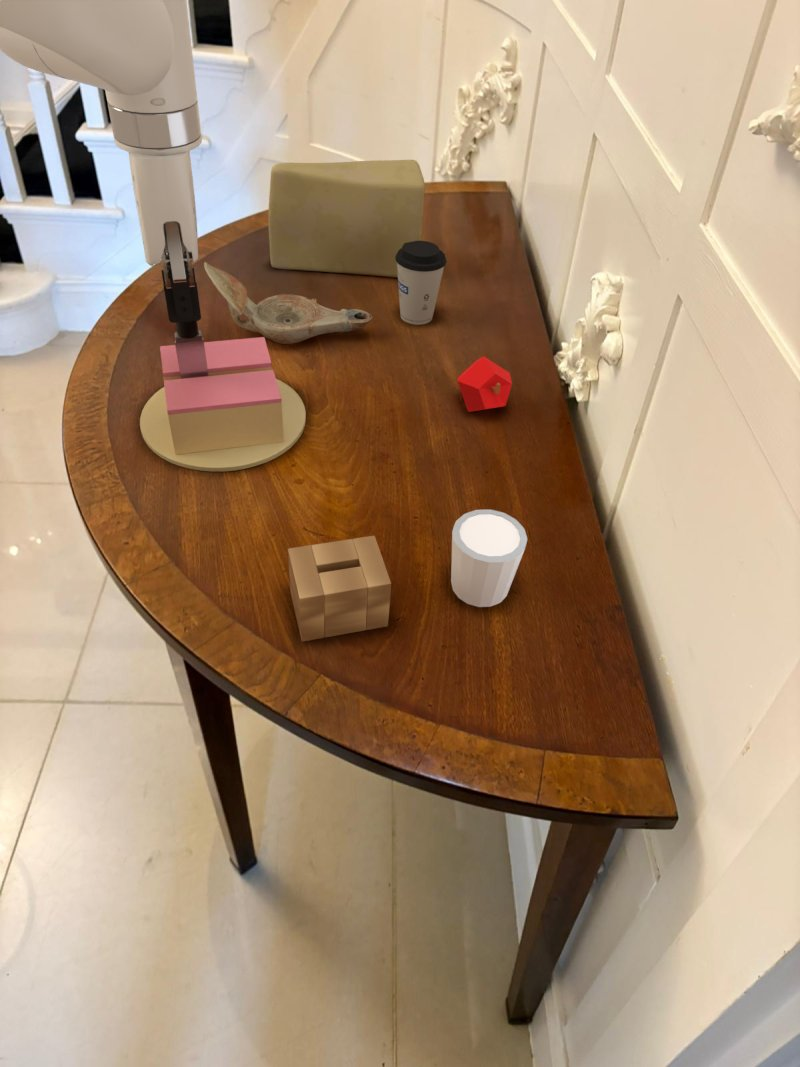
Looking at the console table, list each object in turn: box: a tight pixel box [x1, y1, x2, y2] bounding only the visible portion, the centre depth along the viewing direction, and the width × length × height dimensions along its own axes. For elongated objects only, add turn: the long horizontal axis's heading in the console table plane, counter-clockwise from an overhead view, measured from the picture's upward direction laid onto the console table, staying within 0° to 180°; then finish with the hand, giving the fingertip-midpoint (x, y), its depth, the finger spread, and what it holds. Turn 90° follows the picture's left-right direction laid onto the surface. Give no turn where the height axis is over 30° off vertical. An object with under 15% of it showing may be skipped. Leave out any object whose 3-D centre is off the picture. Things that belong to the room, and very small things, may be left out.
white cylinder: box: [450, 509, 528, 608], centre depth 74 cm, size 7×7×7 cm
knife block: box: [287, 535, 392, 643], centre depth 71 cm, size 8×6×6 cm
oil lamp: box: [203, 261, 373, 345], centre depth 103 cm, size 9×21×10 cm, turn 94°
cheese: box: [267, 159, 426, 279], centre depth 115 cm, size 22×10×15 cm, turn 96°
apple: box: [456, 356, 513, 413], centre depth 95 cm, size 7×7×8 cm
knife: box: [168, 264, 209, 379], centre depth 84 cm, size 3×2×18 cm
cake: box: [139, 336, 307, 473], centre depth 90 cm, size 19×19×7 cm
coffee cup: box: [395, 240, 447, 326], centre depth 108 cm, size 7×7×10 cm
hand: (184, 311), depth 82 cm, fingers closed on knife, 2 cm apart
